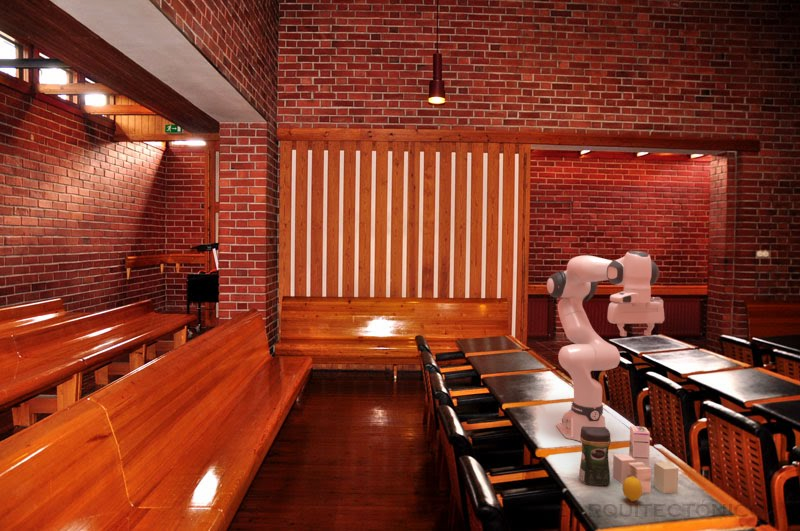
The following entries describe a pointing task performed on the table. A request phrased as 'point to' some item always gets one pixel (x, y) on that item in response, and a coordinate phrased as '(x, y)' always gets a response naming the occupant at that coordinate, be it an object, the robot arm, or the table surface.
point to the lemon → (632, 488)
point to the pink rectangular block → (621, 467)
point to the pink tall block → (641, 475)
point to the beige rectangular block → (666, 477)
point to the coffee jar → (595, 455)
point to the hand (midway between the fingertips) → (635, 335)
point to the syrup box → (639, 444)
